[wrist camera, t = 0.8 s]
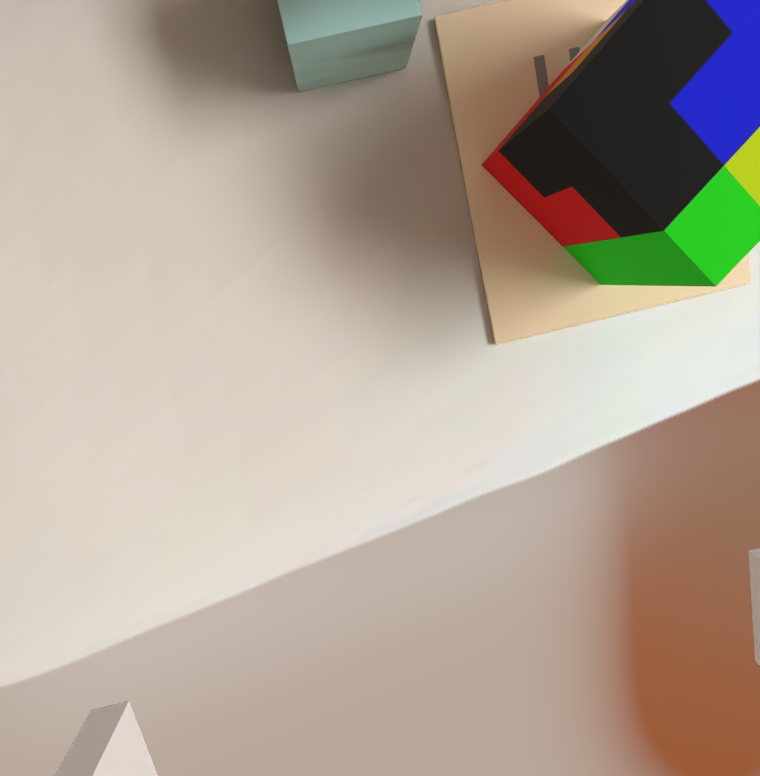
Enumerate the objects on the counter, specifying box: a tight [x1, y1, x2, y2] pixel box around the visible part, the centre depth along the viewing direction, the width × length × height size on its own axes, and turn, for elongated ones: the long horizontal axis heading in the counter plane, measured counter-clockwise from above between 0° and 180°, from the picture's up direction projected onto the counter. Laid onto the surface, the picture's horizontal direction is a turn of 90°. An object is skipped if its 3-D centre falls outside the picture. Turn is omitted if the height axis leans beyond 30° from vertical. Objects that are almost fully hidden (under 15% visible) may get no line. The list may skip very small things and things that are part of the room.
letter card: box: [434, 0, 750, 345], centre depth 31 cm, size 18×16×1 cm
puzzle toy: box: [482, 0, 760, 286], centre depth 26 cm, size 10×10×10 cm
